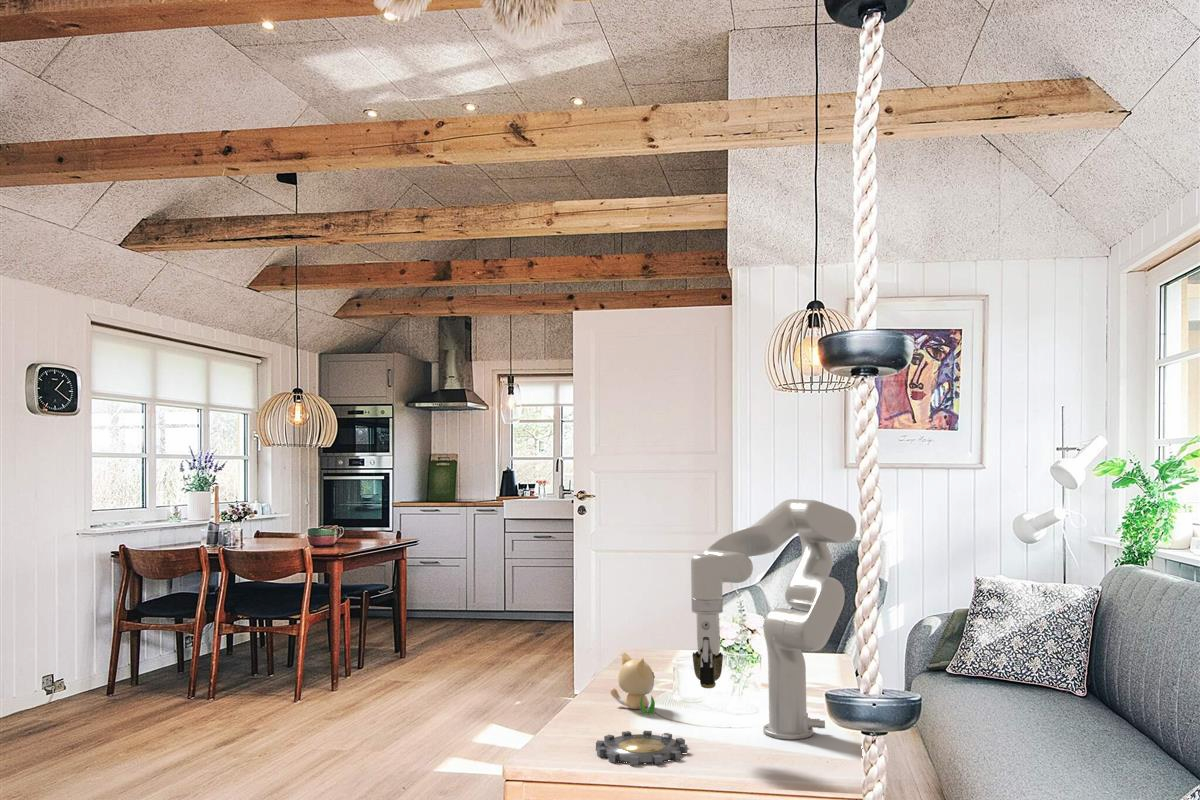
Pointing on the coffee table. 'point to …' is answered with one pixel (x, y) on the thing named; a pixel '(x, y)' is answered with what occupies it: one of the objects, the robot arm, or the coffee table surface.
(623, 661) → the kitten
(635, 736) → the gear
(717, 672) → the cup
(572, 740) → the coffee table surface
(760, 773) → the coffee table surface
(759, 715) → the coffee table surface
